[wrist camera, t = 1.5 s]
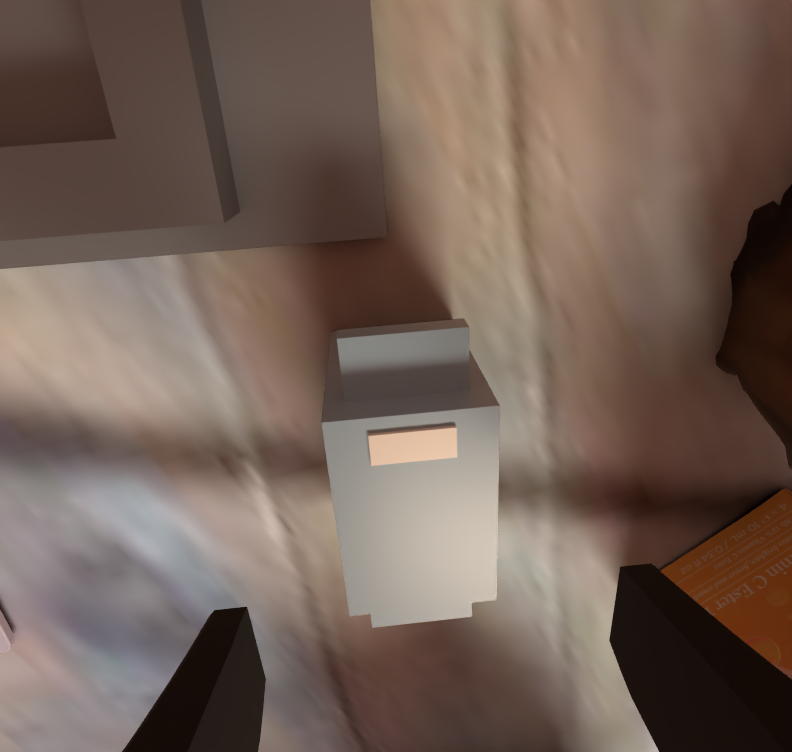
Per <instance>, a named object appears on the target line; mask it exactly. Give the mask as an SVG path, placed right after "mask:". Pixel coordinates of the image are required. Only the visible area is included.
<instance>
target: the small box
mask: <svg viewBox="0 0 792 752" xmlns="http://www.w3.org/2000/svg"><path fill="white" fill-rule="evenodd" d="M661 572H662V573H663V574H664V575H665V576H667V577H668V578H669V579H670V580H671V581H672V582H674V583H675V584H676V585H677V586H678V587H680V588H681V589H682V590H683V591H684V592H685V593H687V594H688V595H689V596H690V597H691V598H692V599H694V600H695V601H696V602H697V603H698V604H700V605H701V606H702V607H703V608H704V609H705V610H707V611H708V612H709V613H710V614H711V615H713V616H714V617H715V618H716V619H717V620H719V621H720V622H721V623H722V624H723V625H724V626H726V627H727V628H728V629H729V630H731V631H732V632H733V633H734V634H735V635H737V636H738V637H739V638H740V639H742V640H743V641H744V642H745V643H747V644H748V645H749V646H750V647H751V648H753V649H754V650H755V651H756V652H758V653H759V654H760V655H761V656H763V657H764V658H765V659H766V660H768V661H769V662H770V663H771V664H773V665H774V666H775V667H777V668H778V669H779V670H780V671H782V672H783V673H784V674H786V675H787V676H788V677H789V678H791V679H792V491H790V490H789V489H782V490H781V491H780V492H778V493H777V494H775V495H774V496H773V497H771V498H770V499H769V500H767V501H766V502H764V503H763V504H761V505H760V506H759V507H757V508H756V509H754V510H753V511H751V512H750V513H748V514H747V515H745V516H744V517H742V518H741V519H739V520H738V521H736V522H735V523H733V524H731V525H730V526H728V527H727V528H725V529H724V530H722V531H721V532H719V533H718V534H716V535H715V536H713V537H712V538H710V539H709V540H707V541H706V542H704V543H703V544H701V545H699V546H698V547H696V548H695V549H693V550H692V551H690V552H689V553H687V554H686V555H684V556H682V557H681V558H679V559H678V560H676V561H675V562H673V563H671V564H670V565H668V566H667V567H665V568H664V569H662V570H661Z"/></svg>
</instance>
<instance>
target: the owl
mask: <svg viewBox="0 0 792 752" xmlns="http://www.w3.org/2000/svg"><path fill="white" fill-rule="evenodd" d="M731 282H732V294H733V295H732V306H731V311H730V314H729V320H728V325H727V328H726V331H725V335H724V339H723V342H722V345H721V347H720V350H719V351H718V353H717V355H716V357H715V359H716V365H717V366H718V367H719V368H720V369H721V370H723V371H724V372H726V373H729V374H732V375H737V376H738V379H739V381H740V383H741V386H742V388H743V390H744V391H745V392H746V393H747V394H748V396H749V397H750V399H751V400H752V402H753V403H754V405H755V406H756V408H757V409H758V411H759V412H760V414H761V415H762V416H763V417H764V419H765V420H766V421H767V422H768V424H769V425H770V426H771V427H772V429H773V430H774V431H775V432H776V434H777V435H778V436H779V438H780V439H781V441H782V442H783V443H784V445H785V447H786V453H787V459H788V465H789V467H790V469H792V185H791V186H790V187H789V188H788V189H787V191H786V192H785V193H784V195H783V198H782V201H781V204H780V206H779V205H778V204H777V203H776V202H774V201H772V202H770V203H768V204H766V205H764V206H762V207H760V208H758V209H756V210H754V212H753V214H752V216H751V219H750V221H749V223H748V230H747V238H746V241H745V243H744V246H743V248H742V250H741V252H740V254H739V255H738V257H737V259H736V260H735V261H734V265H733V268H732V271H731Z"/></svg>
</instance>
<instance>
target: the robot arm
mask: <svg viewBox="0 0 792 752" xmlns="http://www.w3.org/2000/svg"><path fill="white" fill-rule="evenodd" d="M609 641H610V643H611V646H612V649H613V651H614V654H615V657H616V659H617V662H618V665H619V667H620V670H621V672H622V675H623V677H624V680H625V682H626V685H627V687H628V690H629V692H630V695H631V697H632V699H633V701H634V703H635V705H636V707H637V709H638V711H639V713H640V715H641V717H642V719H643V721H644V723H645V725H646V727H647V729H648V731H649V733H650V735H651V736H652V738H653V740H654V742H655V744H656V746H657V748H658V750H659V752H792V679H791V678H789V677H788V676H787V675H786V674H784V673H783V672H782V671H780V670H779V669H778V668H777V667H775V666H774V665H773V664H771V663H770V662H769V661H768V660H766V659H765V658H764V657H763V656H761V655H760V654H759V653H758V652H756V651H755V650H754V649H753V648H751V647H750V646H749V645H748V644H747V643H745V642H744V641H743V640H742V639H740V638H739V637H738V636H737V635H735V634H734V633H733V632H732V631H731V630H729V629H728V628H727V627H726V626H724V625H723V624H722V623H721V622H720V621H719V620H717V619H716V618H715V617H714V616H713V615H711V614H710V613H709V612H708V611H707V610H705V609H704V608H703V607H702V606H701V605H700V604H698V603H697V602H696V601H695V600H694V599H692V598H691V597H690V596H689V595H688V594H687V593H685V592H684V591H683V590H682V589H681V588H680V587H678V586H677V585H676V584H675V583H674V582H672V581H671V580H670V579H669V578H668V577H667V576H665V575H664V574H663V573H662V572H661V571H659V570H658V569H657V568H656V567H655V566H654V565H652V564H642V565H633V566H624V567H620V573H619V579H618V586H617V593H616V600H615V606H614V613H613V620H612V627H611V634H610V640H609ZM14 642H15V636H14V634H13V632H12V631H11V629H10V627H9V625H8V623H7V621H6V619H5V617H4V616H3V614H2V612H1V610H0V653H4V652H7V651H8V650H10V648H11V647H12V645H13V644H14ZM265 681H266V678H265V675H264V671H263V667H262V663H261V659H260V655H259V651H258V647H257V644H256V640H255V636H254V632H253V628H252V624H251V620H250V616H249V613H248V609H247V607H240V608H231V609H222V610H214V612H213V613H212V614H211V615H210V616H209V618H208V619H207V621H206V623H205V624H204V626H203V628H202V629H201V631H200V633H199V634H198V636H197V638H196V639H195V641H194V643H193V644H192V646H191V648H190V649H189V651H188V653H187V654H186V656H185V657H184V659H183V661H182V662H181V664H180V666H179V667H178V669H177V670H176V672H175V673H174V675H173V677H172V678H171V680H170V681H169V683H168V685H167V686H166V688H165V689H164V691H163V692H162V694H161V695H160V697H159V698H158V700H157V701H156V703H155V704H154V706H153V707H152V709H151V710H150V712H149V713H148V715H147V716H146V718H145V719H144V721H143V722H142V724H141V725H140V727H139V728H138V730H137V731H136V733H135V734H134V736H133V737H132V738H131V740H130V741H129V743H128V744H127V746H126V747H125V748H124V750H123V751H122V752H258V747H259V742H260V734H261V724H262V715H263V704H264V692H265Z"/></svg>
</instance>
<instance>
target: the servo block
mask: <svg viewBox="0 0 792 752" xmlns="http://www.w3.org/2000/svg"><path fill="white" fill-rule="evenodd" d="M499 419H500V405H499V403H498V401H497V400H496V398H495V396H494V394H493V392H492V390H491V389H490V387H489V385H488V383H487V381H486V379H485V378H484V376H483V374H482V372H481V370H480V368H479V366H478V365H477V363H476V361H475V359H474V357H473V355H472V354H471V352H470V350H469V326H468V325H467V323H466V321H465V320H464V319H454V320H442V321H431V322H420V323H409V324H398V325H386V326H375V327H364V328H353V329H342V330H337V331H332V332H331V338H330V347H329V356H328V365H327V375H326V384H325V393H324V403H323V412H322V421H321V424H322V431H323V437H324V444H325V451H326V458H327V465H328V472H329V479H330V485H331V492H332V499H333V506H334V513H335V520H336V526H337V533H338V540H339V547H340V554H341V561H342V568H343V574H344V581H345V588H346V595H347V602H348V609H349V615H350V616H357V615H366V614H371V622H372V628H376V627H384V626H393V625H402V624H411V623H420V622H429V621H438V620H447V619H456V618H465V617H472V603H474V602H483V601H492V600H496V597H497V538H498V479H499Z"/></svg>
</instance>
